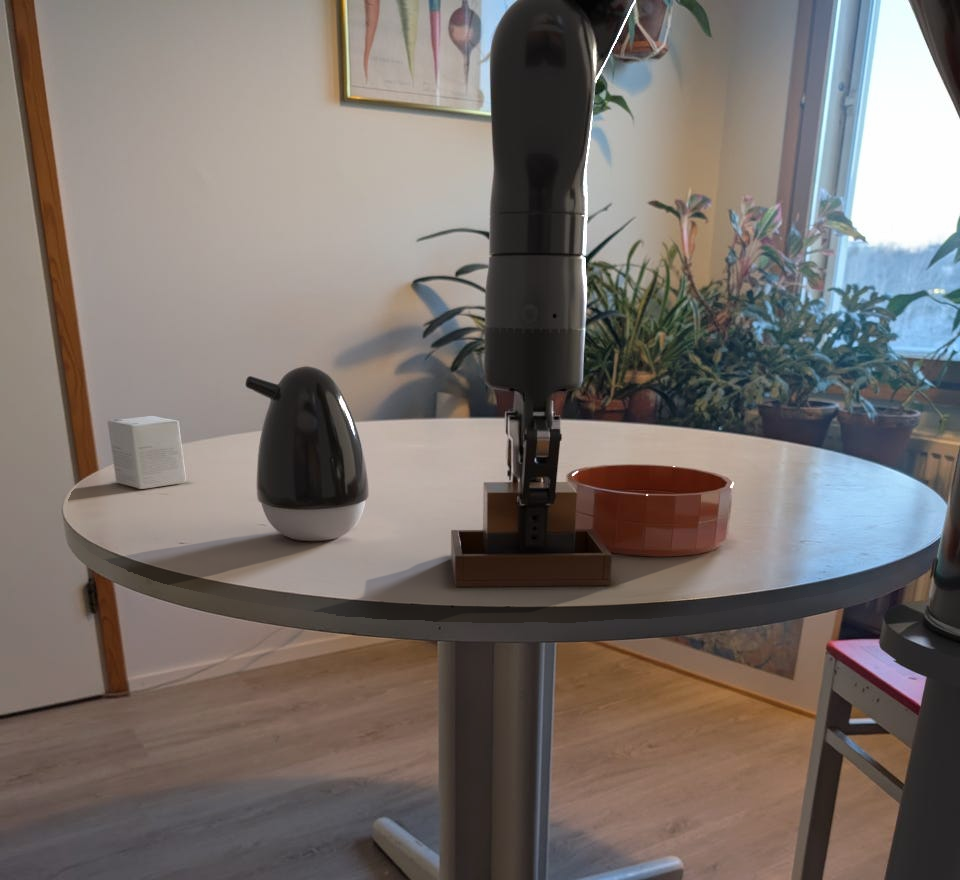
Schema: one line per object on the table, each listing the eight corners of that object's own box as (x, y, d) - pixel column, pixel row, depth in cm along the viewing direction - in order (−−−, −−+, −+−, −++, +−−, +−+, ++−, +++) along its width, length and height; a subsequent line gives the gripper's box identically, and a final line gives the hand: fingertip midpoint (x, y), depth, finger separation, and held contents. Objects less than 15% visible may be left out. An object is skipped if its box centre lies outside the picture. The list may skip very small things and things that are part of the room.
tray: (590, 557, 77) (592, 529, 77) (610, 585, 70) (612, 554, 69) (451, 558, 77) (451, 529, 76) (455, 587, 69) (455, 556, 68)
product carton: (187, 483, 106) (180, 419, 103) (138, 490, 101) (130, 424, 99) (162, 476, 109) (154, 415, 107) (114, 482, 105) (105, 419, 103)
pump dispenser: (255, 524, 87) (242, 362, 81) (362, 519, 89) (355, 361, 84) (259, 552, 78) (245, 371, 72) (378, 545, 80) (372, 370, 75)
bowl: (752, 533, 86) (759, 477, 84) (681, 568, 75) (687, 503, 73) (614, 510, 95) (618, 458, 93) (533, 538, 83) (534, 479, 81)
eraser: (565, 543, 75) (568, 481, 73) (574, 556, 71) (577, 492, 69) (482, 544, 74) (483, 482, 72) (486, 557, 70) (487, 492, 68)
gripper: (603, 326, 60) (589, 570, 66) (569, 320, 73) (560, 524, 79) (492, 325, 59) (489, 571, 66) (478, 320, 73) (476, 524, 79)
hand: (528, 544), depth 72 cm, fingers closed on eraser, 4 cm apart
